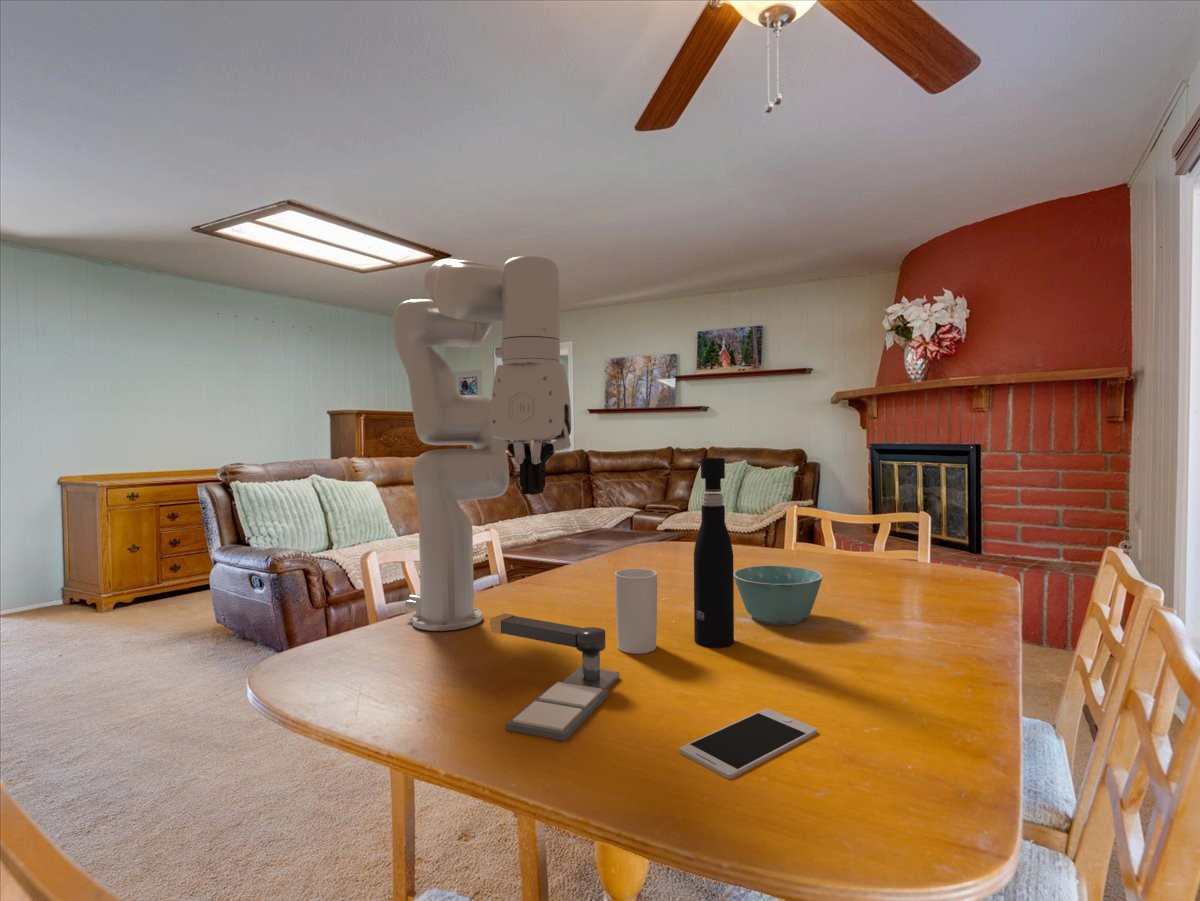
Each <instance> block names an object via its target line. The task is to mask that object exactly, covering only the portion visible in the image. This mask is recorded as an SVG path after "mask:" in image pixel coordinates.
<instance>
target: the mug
mask: <svg viewBox="0 0 1200 901" xmlns="http://www.w3.org/2000/svg"><path fill="white" fill-rule="evenodd" d="M614 586H615V589H614V590H615V591H614V593H615V614H616V615H615V616H616V619H615V620H616V642H617V649H618V650H619V651H621V652H623V653H626V654H632V655H642V654H648V653H651V652H653V651H655V650H656V648H657V635H658V634H657V632H658V630H657V629H658V628H657V626H658V624H657V623H658V621H657V620H658V572H657V571H656V570H653V569H647V568H634V567H633V568H623V569H620V570H617V571H615V572H614Z"/></svg>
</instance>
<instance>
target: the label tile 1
mask: <svg viewBox="0 0 1200 901" xmlns="http://www.w3.org/2000/svg"><path fill="white" fill-rule="evenodd" d="M588 712H589V710H584V709H579V708H573V707H567V706H561V705H556V704H550V703H544V702H538V701H533V700H532V701H531V702H530V703H529V704H527V705H526V706H525V707H524V708H522V710H520V711H519V712H518V713H517V714H515V715H514V716H513V717H512V718H510V719H509V720H508V721H507V722H506V723H505V730H506V731H510V732H514V733H520V734H525V735H530V736H534V737H535V736H536V737H540V738H545V739H551V740H555V741H556V740H557V741H562V742H566V741H567V740H568V739H569V738H570V737H571V736H572V735H573V734H574V732H576V731H577V729H578V728H579V727H580V726H581V725H582V724H583V723H584V722H585V721H586V720H587V719H588V718H589V717H590V716H589V713H588ZM588 716H589V717H588Z"/></svg>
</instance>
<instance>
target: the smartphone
mask: <svg viewBox="0 0 1200 901" xmlns="http://www.w3.org/2000/svg"><path fill="white" fill-rule="evenodd" d="M816 734H818V729H817V728H816V727H815V726H812V725H810V724H807V723H804V722H802V721H800V720H797V719H795V718H792V717H790V716H788V715H785V714H783V713H780V712H778V711H775V710H773V709H770V708H763V709H762V710H759V711H757V712H755V713H753V714H749V715H748V716H745V717H744V718H742V719H739V720H737V721H735V722H733V723H730V724H728V725H726V726H723V727H722V728H719V729H717V730H715V731H713V732H711V733H708V734H706V735H704V736H702V737H699V738H696V739H695V740H692V741H690V742H689V743H686V744H683V745H682V746H680V747H679V754H681V755H683V756H684V757H686V758H688V759H690V760H692V761H693V762H695V763H698V764H699V765H701V766H703V767H705V768H706V769H708V770H710V771H712V772H714V773H715V774H718V775H719V776H721V777H723V778H725V779H727V780H730V779H731V780H732V779H733V778H736V777H738V776H740V775H741V774H743V773H745V772H747V771H750V770H751V769H753V768H755V767H756V766H759V765H760V764H762V763H764V762H766V761H768V760H771V759H772V758H774V757H775V756H777V755H779V754H781V753H783V752H785V751H787V750H788V749H790V748H792V747H794V746H797V745H798V744H800V743H803V742H804V741H806V740H807V739H809V738H811V737H813V736H815V735H816Z"/></svg>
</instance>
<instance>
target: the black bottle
mask: <svg viewBox="0 0 1200 901" xmlns="http://www.w3.org/2000/svg"><path fill="white" fill-rule="evenodd" d="M725 463H726V459H725V458H724V457H703V458H701V459H700V479H703V480H704V481H705V482H704V485H705V486H704V491H705V492H707V493H703V496H702V499H703V500H702V503H703V504H702V505H701V523H700V526H699V529H698V531H697V535H696V539H695V543H694V544H695V545H694V549H693V550H694V551H693V608H694V609H693V611H694V612H693V615H694V616H693V626H694V627H693V628H694V629H693V630H694V632H693V634H694V640H693V641H694V642H695V643H696V644H697V645H699V646H701V647H705V648H713V649H714V648H715V649H718V648H726V647H730V646H732V645H733V644H734V643H735V627H734V626H735V624H734V623H735V612H734V611H735V610H734V609H735V605H734V602H735V601H734V597H735V595H734V589H735V586H734V581H735V579H734V575H733V574H734V552H733V546H732V541H731V537H730V534H729V531H728V527H727V526H726V516H725V515H726V514H725V513H726V511H725V510H726V507H725V505H724V504H723V503H724V501H723V499H724V496H723V493H718V492H721V491H722V488H721V485H722V484H721V483H722V481H721V480H722V479H723V480H724V479H725V478H726V464H725Z"/></svg>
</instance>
